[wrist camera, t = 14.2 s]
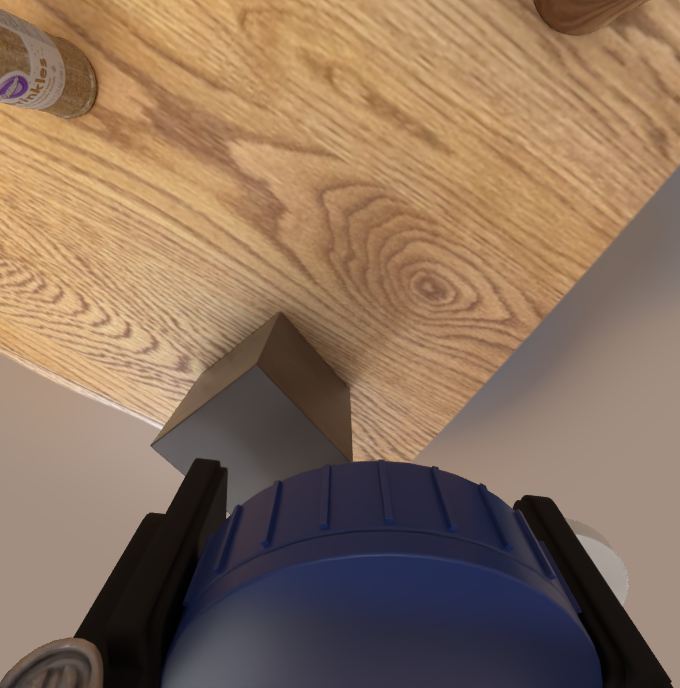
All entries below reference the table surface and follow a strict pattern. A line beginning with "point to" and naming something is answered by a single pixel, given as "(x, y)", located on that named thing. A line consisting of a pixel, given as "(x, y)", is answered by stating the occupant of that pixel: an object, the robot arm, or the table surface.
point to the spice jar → (43, 70)
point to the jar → (583, 13)
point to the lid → (378, 590)
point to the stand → (262, 413)
